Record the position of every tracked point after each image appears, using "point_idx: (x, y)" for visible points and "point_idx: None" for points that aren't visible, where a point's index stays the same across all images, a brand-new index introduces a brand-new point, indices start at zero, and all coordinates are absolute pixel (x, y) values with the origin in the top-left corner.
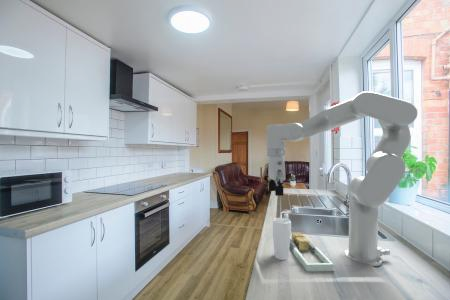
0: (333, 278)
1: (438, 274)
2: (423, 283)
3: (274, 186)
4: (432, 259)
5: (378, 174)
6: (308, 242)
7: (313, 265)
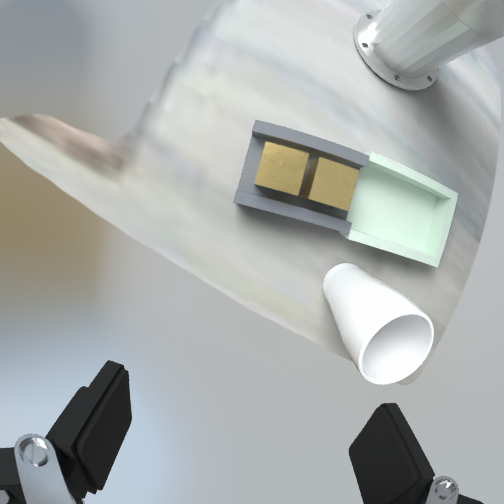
0: None
1: None
2: (479, 60)
3: (108, 418)
4: None
5: None
6: (356, 172)
7: (442, 249)
